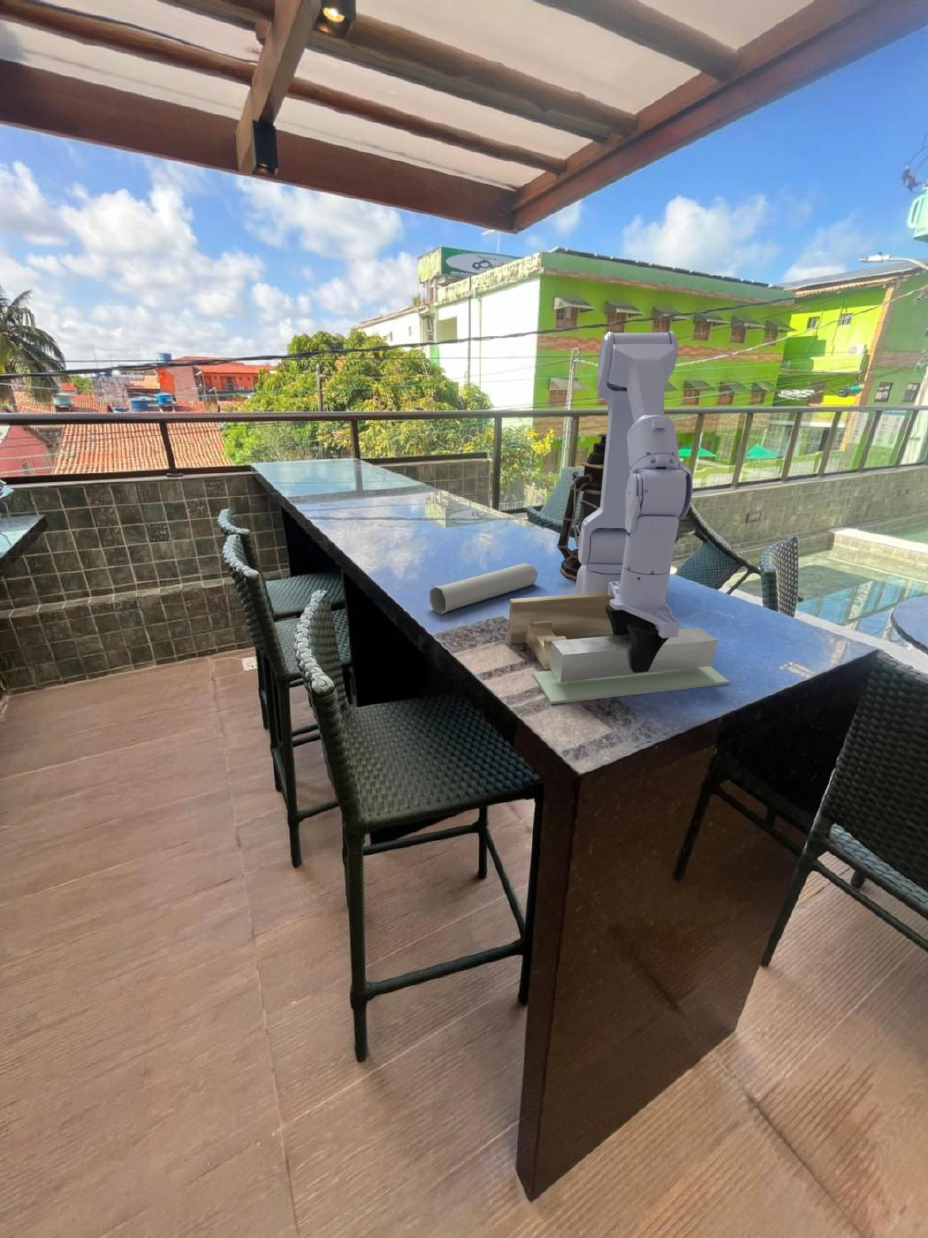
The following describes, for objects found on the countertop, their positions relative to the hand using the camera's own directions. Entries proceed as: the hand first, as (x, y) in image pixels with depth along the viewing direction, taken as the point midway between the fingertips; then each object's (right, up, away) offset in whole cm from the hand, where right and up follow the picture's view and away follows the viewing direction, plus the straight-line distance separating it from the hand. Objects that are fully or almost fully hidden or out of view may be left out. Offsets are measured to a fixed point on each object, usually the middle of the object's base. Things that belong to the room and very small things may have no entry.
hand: (631, 662), depth 69 cm
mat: (0, -2, +1) cm, 3 cm away
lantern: (+6, +16, +43) cm, 46 cm away
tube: (-18, +10, +30) cm, 37 cm away
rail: (0, -1, 0) cm, 1 cm away
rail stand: (-2, +2, +10) cm, 10 cm away
